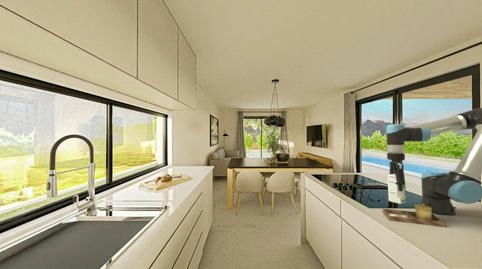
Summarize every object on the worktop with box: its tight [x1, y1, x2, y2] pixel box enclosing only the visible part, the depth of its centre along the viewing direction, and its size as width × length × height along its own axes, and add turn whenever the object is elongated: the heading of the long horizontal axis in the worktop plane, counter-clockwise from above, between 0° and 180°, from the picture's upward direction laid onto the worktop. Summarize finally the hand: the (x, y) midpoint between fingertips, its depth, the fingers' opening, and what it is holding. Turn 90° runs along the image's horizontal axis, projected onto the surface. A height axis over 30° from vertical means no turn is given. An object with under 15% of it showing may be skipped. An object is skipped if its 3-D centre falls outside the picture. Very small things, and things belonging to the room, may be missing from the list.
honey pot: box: [414, 203, 432, 220], centre depth 100 cm, size 6×6×9 cm
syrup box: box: [387, 174, 407, 205], centre depth 105 cm, size 6×6×14 cm
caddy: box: [381, 208, 446, 228], centre depth 102 cm, size 22×12×3 cm, turn 67°
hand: (397, 194), depth 104 cm, fingers closed on syrup box, 8 cm apart
